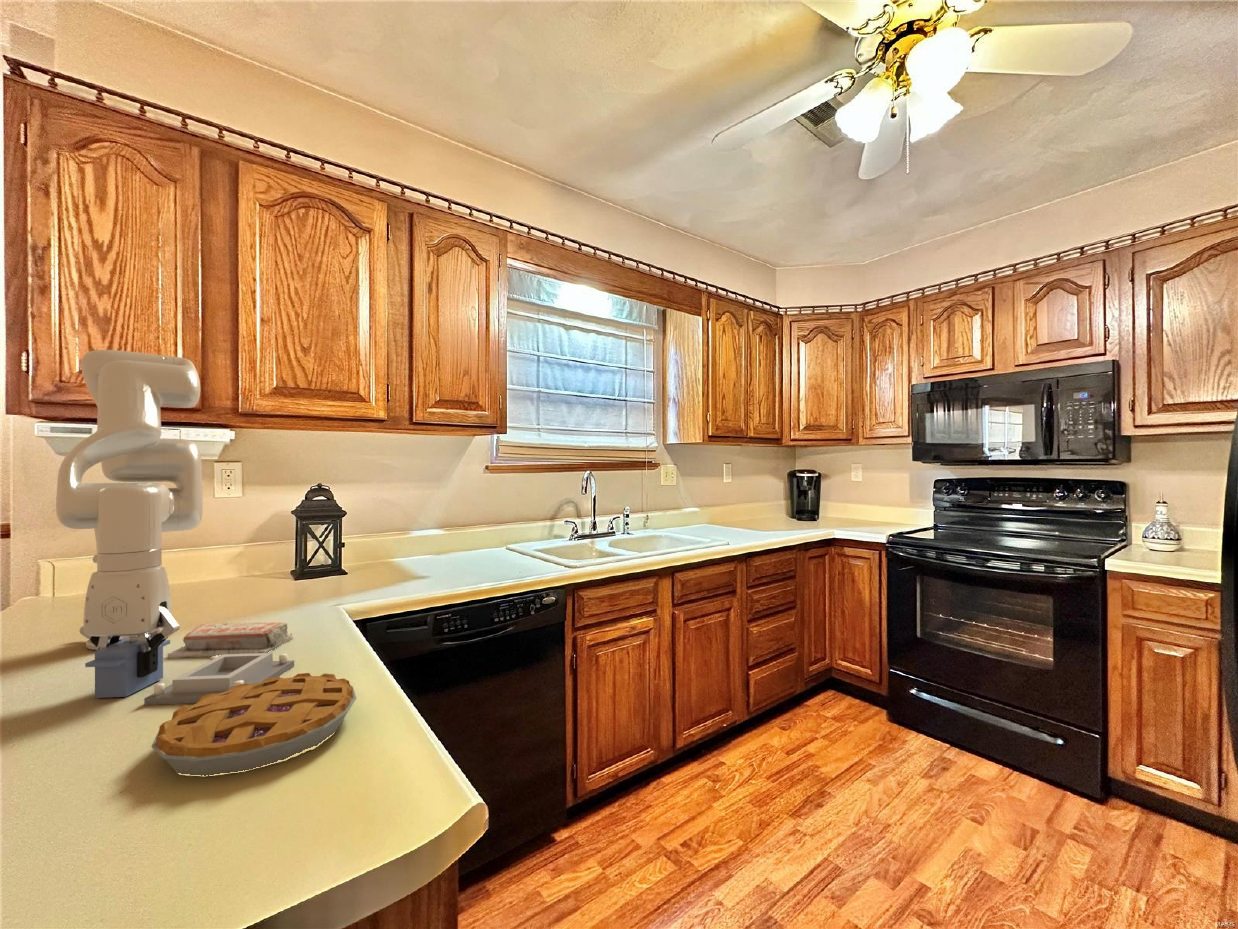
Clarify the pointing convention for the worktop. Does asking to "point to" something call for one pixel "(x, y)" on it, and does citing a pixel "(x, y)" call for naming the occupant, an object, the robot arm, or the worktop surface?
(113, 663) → the block
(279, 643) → the packaged product
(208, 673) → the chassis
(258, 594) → the worktop surface
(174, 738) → the pie
